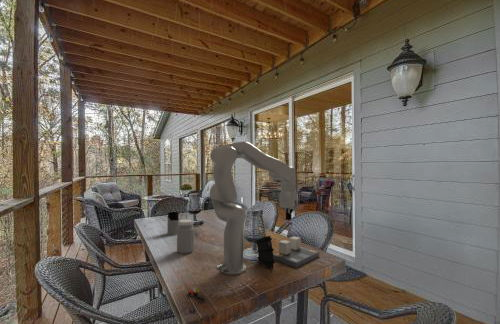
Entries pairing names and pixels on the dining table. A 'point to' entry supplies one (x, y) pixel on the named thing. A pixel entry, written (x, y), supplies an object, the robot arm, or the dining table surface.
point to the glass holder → (173, 223)
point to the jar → (185, 236)
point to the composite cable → (195, 295)
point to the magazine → (265, 252)
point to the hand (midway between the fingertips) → (288, 219)
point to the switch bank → (297, 257)
